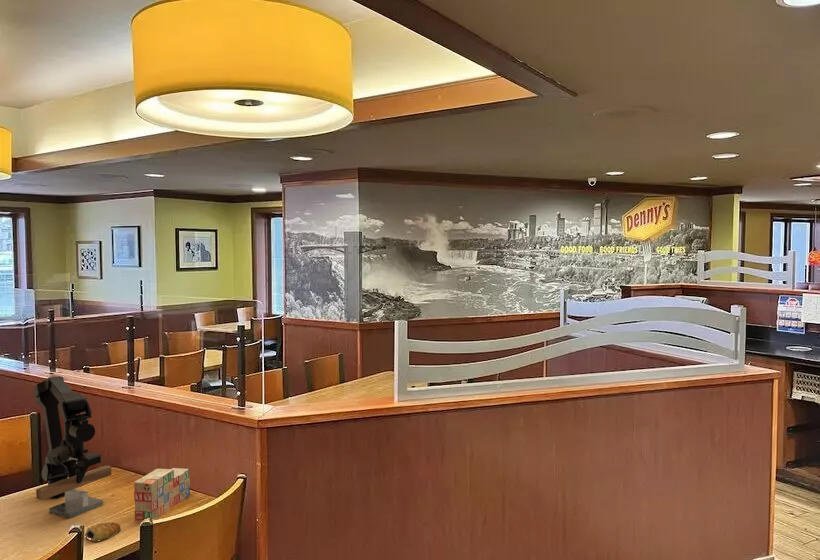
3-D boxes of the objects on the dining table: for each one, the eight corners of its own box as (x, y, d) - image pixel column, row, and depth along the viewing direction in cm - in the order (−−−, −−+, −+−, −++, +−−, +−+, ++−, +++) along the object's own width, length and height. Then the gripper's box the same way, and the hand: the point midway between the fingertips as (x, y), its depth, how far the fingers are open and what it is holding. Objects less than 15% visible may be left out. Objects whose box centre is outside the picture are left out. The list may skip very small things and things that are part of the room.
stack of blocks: (174, 493, 216) (173, 458, 215) (190, 495, 215) (189, 460, 214) (134, 519, 195) (133, 481, 194) (152, 521, 194) (151, 482, 193)
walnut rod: (36, 498, 193) (36, 489, 193) (105, 473, 214) (105, 465, 214) (42, 500, 192) (41, 490, 192) (111, 475, 213) (111, 466, 213)
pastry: (112, 527, 190) (112, 514, 190) (125, 532, 187) (125, 520, 186) (82, 539, 182) (82, 526, 182) (96, 545, 179) (95, 532, 178)
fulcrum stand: (49, 512, 200) (48, 494, 200) (83, 499, 211) (83, 482, 211) (69, 518, 196) (68, 500, 195) (103, 504, 206) (102, 486, 206)
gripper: (32, 438, 199) (33, 485, 200) (69, 446, 191) (71, 496, 192) (65, 429, 209) (66, 474, 210) (101, 436, 201) (103, 483, 202)
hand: (75, 482), depth 203 cm, fingers closed on walnut rod, 3 cm apart
